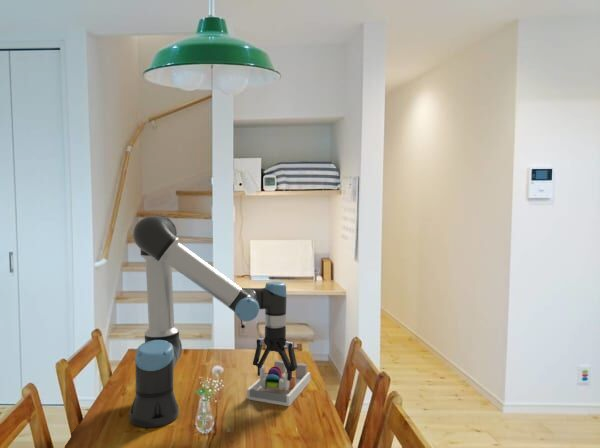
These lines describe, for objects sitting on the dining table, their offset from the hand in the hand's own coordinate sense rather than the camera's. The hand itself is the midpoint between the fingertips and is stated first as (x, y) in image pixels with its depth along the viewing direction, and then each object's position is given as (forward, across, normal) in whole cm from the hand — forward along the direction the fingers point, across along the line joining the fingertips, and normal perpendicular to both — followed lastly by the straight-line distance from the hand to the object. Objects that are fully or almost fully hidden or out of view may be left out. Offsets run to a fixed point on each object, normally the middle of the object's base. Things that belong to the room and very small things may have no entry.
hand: (274, 386), depth 167 cm
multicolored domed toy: (0, 0, +1) cm, 1 cm away
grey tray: (+3, 0, -6) cm, 7 cm away
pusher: (+2, 0, -10) cm, 10 cm away
